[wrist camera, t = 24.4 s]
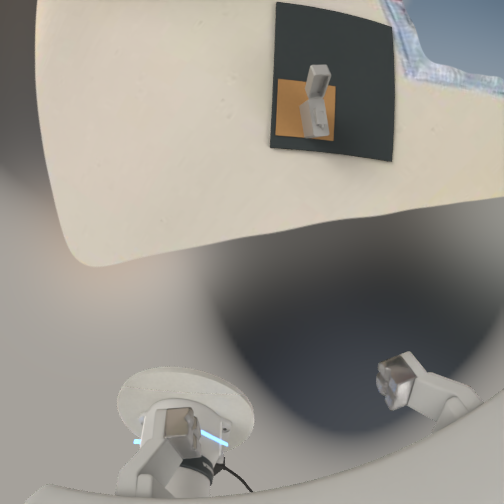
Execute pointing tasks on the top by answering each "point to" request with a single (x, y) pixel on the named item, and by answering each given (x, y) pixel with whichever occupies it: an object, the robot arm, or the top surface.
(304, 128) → the lighter
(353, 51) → the mat
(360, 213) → the top surface
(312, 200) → the top surface
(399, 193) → the top surface
